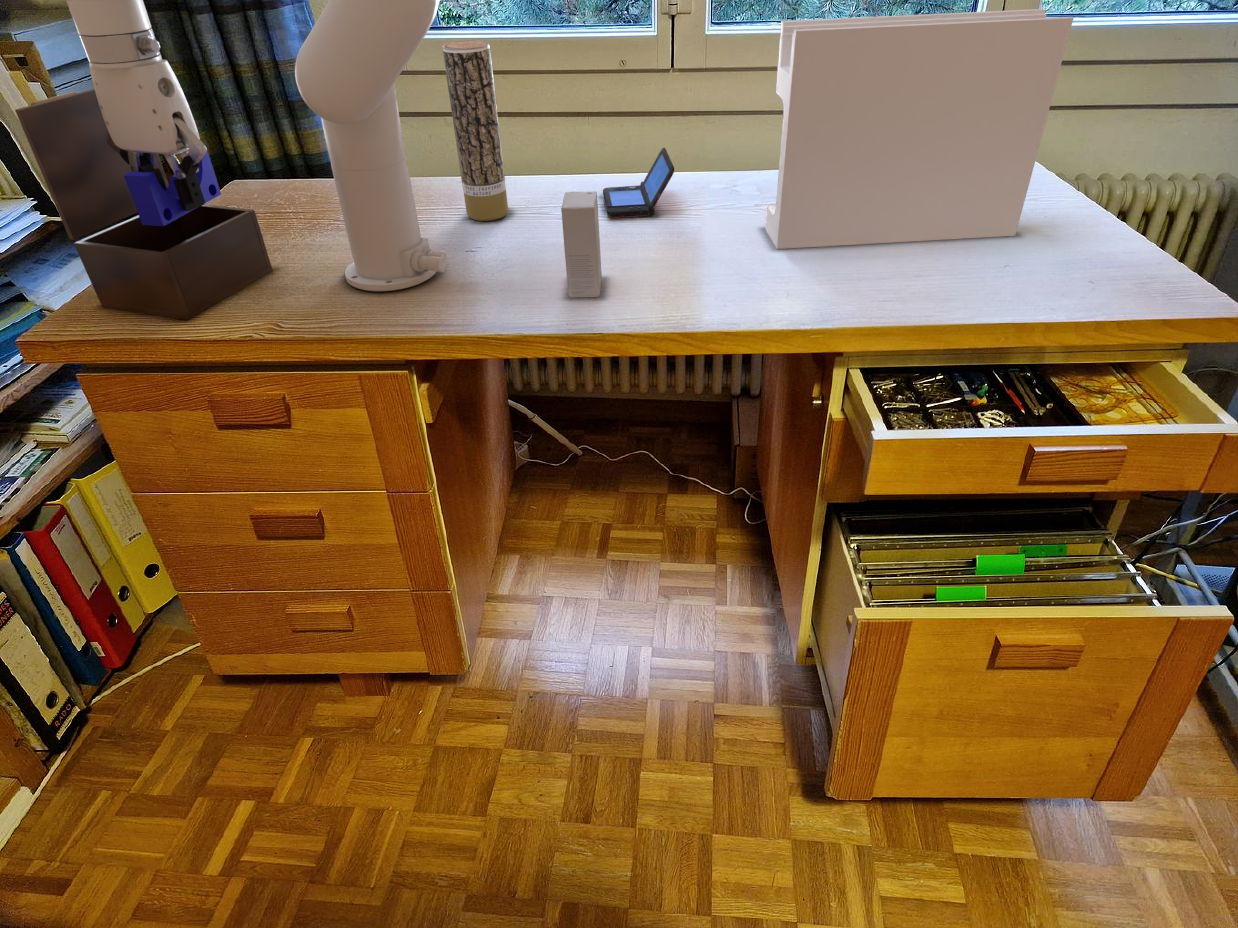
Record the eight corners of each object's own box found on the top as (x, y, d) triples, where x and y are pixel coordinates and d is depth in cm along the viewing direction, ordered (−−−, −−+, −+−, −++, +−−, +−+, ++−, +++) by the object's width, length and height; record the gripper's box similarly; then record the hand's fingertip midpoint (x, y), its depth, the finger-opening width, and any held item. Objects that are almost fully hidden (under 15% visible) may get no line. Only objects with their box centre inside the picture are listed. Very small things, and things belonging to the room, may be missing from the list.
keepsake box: (273, 270, 116) (254, 209, 111) (187, 320, 104) (161, 255, 99) (193, 259, 121) (172, 200, 115) (101, 306, 108) (73, 243, 103)
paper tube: (516, 216, 131) (497, 44, 116) (478, 225, 128) (454, 51, 113) (497, 205, 136) (476, 39, 121) (460, 214, 133) (434, 45, 118)
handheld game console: (602, 194, 138) (600, 149, 134) (664, 190, 139) (665, 146, 135) (607, 220, 128) (605, 172, 124) (674, 216, 129) (675, 168, 125)
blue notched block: (191, 193, 110) (176, 147, 106) (221, 194, 109) (206, 148, 105) (131, 224, 100) (112, 175, 97) (163, 226, 99) (145, 176, 96)
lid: (133, 79, 106) (102, 76, 107) (19, 110, 93) (-15, 106, 95) (173, 198, 115) (143, 193, 116) (74, 240, 103) (42, 234, 104)
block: (776, 249, 117) (795, 31, 100) (765, 229, 123) (781, 21, 106) (1015, 235, 118) (1073, 18, 101) (991, 216, 124) (1042, 9, 108)
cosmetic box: (570, 279, 110) (564, 191, 103) (602, 278, 110) (597, 190, 103) (567, 298, 105) (560, 207, 98) (600, 298, 105) (595, 206, 98)
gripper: (204, 46, 94) (250, 202, 105) (93, 41, 99) (148, 190, 110) (154, 58, 88) (208, 222, 99) (39, 52, 93) (103, 208, 104)
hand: (176, 204), depth 104 cm, fingers closed on blue notched block, 5 cm apart
